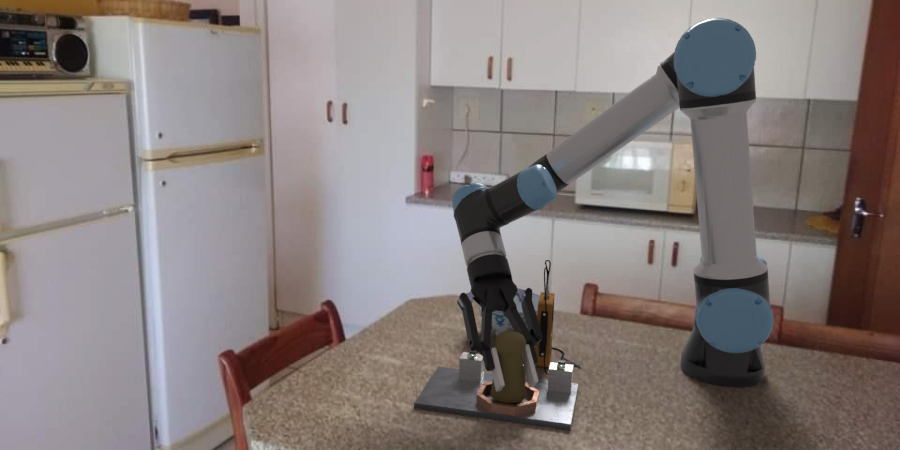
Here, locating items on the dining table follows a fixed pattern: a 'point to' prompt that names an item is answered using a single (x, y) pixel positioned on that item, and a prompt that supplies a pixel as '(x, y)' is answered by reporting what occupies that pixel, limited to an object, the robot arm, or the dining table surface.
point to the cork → (510, 367)
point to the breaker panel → (472, 397)
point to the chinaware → (502, 322)
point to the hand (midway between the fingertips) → (517, 386)
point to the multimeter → (547, 326)
